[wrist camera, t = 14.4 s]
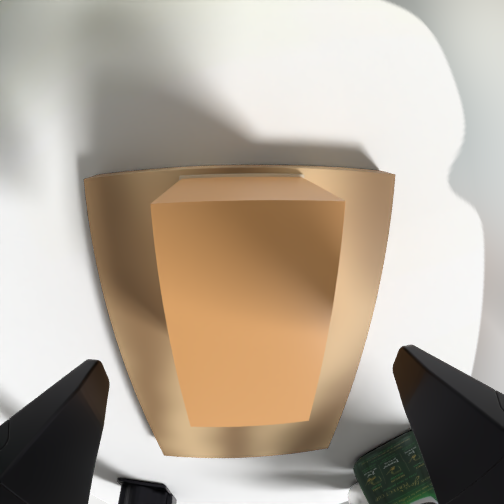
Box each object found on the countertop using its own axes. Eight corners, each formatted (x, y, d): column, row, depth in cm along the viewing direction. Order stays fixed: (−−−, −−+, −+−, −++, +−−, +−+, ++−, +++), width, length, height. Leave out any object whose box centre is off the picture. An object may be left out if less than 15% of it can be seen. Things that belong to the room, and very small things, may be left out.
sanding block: (196, 351, 15) (188, 427, 10) (180, 175, 11) (146, 199, 7) (290, 348, 15) (310, 421, 10) (302, 174, 12) (349, 197, 7)
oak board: (166, 442, 20) (164, 455, 19) (97, 174, 12) (83, 179, 11) (324, 435, 21) (327, 448, 20) (380, 170, 13) (395, 174, 12)
